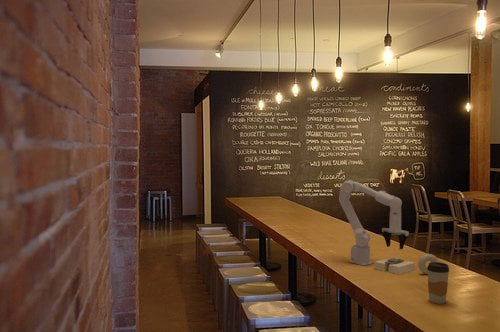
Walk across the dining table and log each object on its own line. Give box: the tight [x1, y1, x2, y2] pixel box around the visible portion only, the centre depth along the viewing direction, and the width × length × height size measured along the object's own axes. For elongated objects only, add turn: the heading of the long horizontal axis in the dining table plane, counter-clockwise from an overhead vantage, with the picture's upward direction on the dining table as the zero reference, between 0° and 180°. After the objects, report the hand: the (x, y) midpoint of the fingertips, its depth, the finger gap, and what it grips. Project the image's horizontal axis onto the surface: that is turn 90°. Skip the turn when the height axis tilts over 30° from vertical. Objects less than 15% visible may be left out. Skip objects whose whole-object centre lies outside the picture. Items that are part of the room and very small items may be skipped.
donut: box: [417, 253, 440, 275], centre depth 247 cm, size 10×4×10 cm, turn 91°
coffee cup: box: [427, 261, 450, 305], centre depth 206 cm, size 8×8×15 cm
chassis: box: [374, 257, 416, 275], centre depth 257 cm, size 14×14×4 cm
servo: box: [385, 257, 404, 271], centre depth 257 cm, size 4×11×6 cm, turn 132°
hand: (394, 247), depth 264 cm, fingers open, 7 cm apart
